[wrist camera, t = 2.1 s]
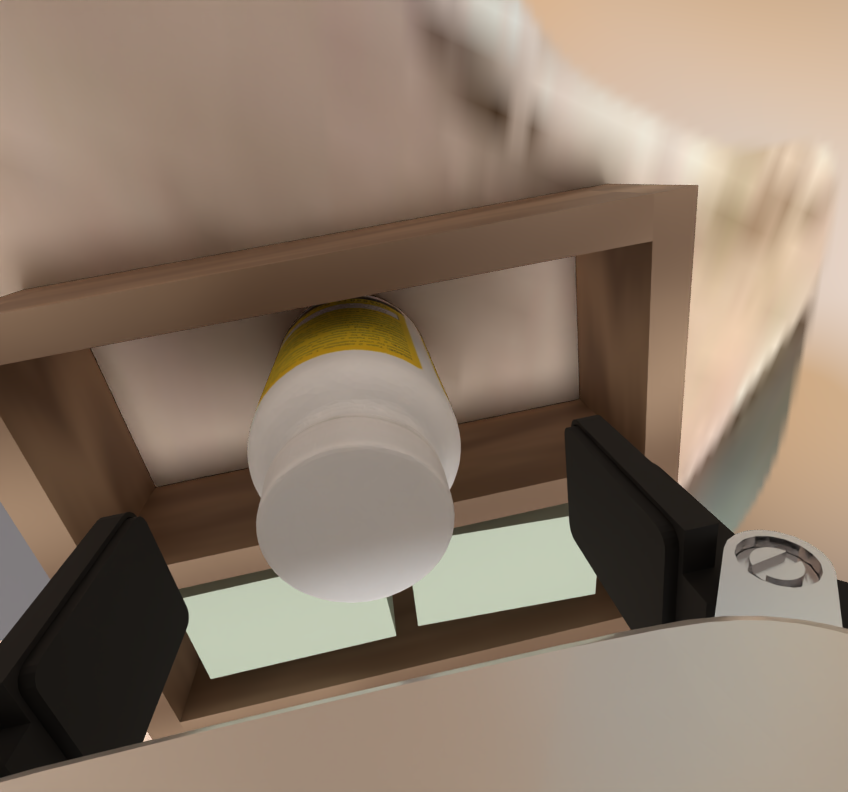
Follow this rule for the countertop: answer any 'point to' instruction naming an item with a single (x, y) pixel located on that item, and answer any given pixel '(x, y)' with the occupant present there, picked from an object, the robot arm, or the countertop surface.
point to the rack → (480, 440)
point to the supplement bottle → (353, 454)
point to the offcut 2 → (505, 567)
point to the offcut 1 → (274, 622)
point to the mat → (16, 574)
